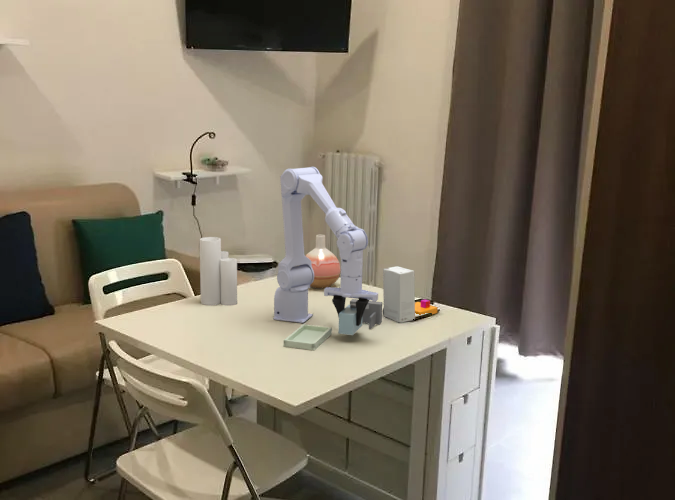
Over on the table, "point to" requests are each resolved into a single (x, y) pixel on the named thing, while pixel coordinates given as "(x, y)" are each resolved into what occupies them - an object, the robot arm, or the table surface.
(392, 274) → the skincare box
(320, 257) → the vase
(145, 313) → the table surface
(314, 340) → the tray
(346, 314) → the tall blue-grey prism
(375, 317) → the bay
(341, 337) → the table surface
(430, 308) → the orange flat block
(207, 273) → the vase
